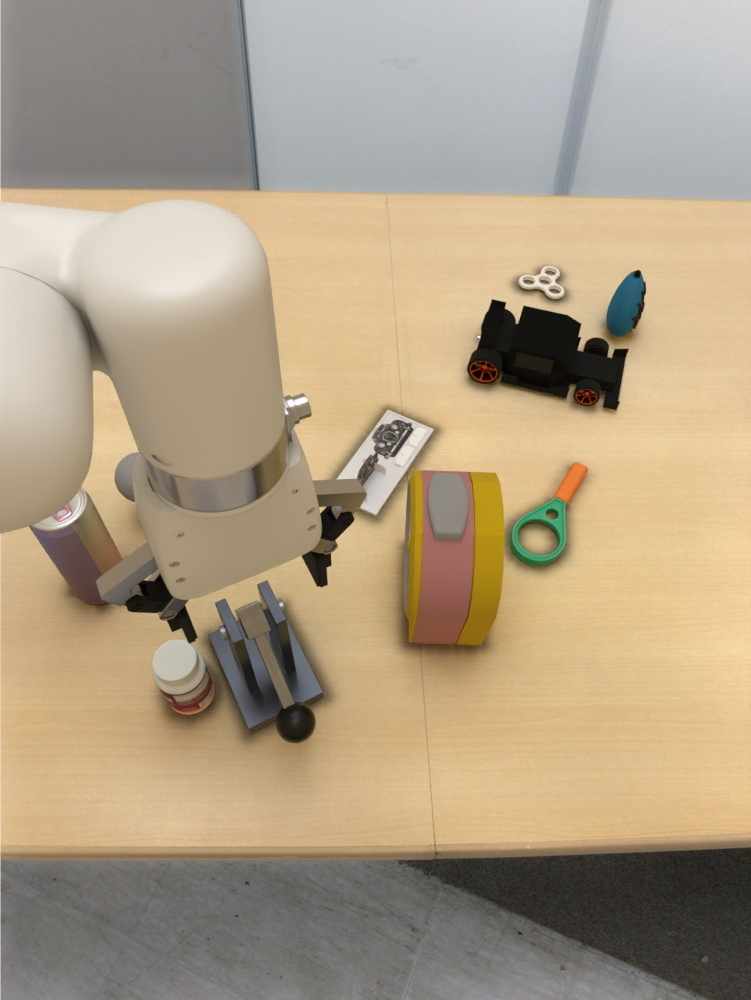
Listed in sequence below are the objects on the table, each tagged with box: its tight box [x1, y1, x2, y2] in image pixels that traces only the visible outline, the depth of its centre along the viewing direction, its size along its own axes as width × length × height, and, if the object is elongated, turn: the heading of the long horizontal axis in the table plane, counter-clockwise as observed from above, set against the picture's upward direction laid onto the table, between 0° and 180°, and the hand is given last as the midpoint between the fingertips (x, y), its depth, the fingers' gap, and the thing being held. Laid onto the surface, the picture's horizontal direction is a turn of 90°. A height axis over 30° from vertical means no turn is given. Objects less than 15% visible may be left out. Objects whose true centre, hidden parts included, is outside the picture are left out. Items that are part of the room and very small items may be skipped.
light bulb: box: [114, 451, 139, 503], centre depth 82 cm, size 6×6×10 cm
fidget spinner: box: [518, 265, 565, 300], centre depth 110 cm, size 7×6×1 cm
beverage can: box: [28, 486, 124, 605], centre depth 74 cm, size 6×6×15 cm
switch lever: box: [234, 599, 317, 744], centre depth 66 cm, size 13×4×4 cm
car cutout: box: [336, 409, 435, 518], centre depth 89 cm, size 15×7×4 cm, turn 151°
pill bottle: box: [151, 638, 216, 715], centre depth 70 cm, size 5×5×8 cm
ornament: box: [605, 269, 647, 338], centre depth 101 cm, size 8×5×10 cm, turn 160°
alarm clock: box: [403, 469, 505, 646], centre depth 73 cm, size 15×8×18 cm, turn 178°
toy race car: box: [466, 298, 630, 411], centre depth 97 cm, size 10×20×7 cm, turn 72°
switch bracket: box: [207, 579, 325, 734], centre depth 70 cm, size 11×8×13 cm
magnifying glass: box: [509, 461, 589, 567], centre depth 86 cm, size 15×6×2 cm, turn 148°
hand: (252, 597), depth 52 cm, fingers open, 9 cm apart
